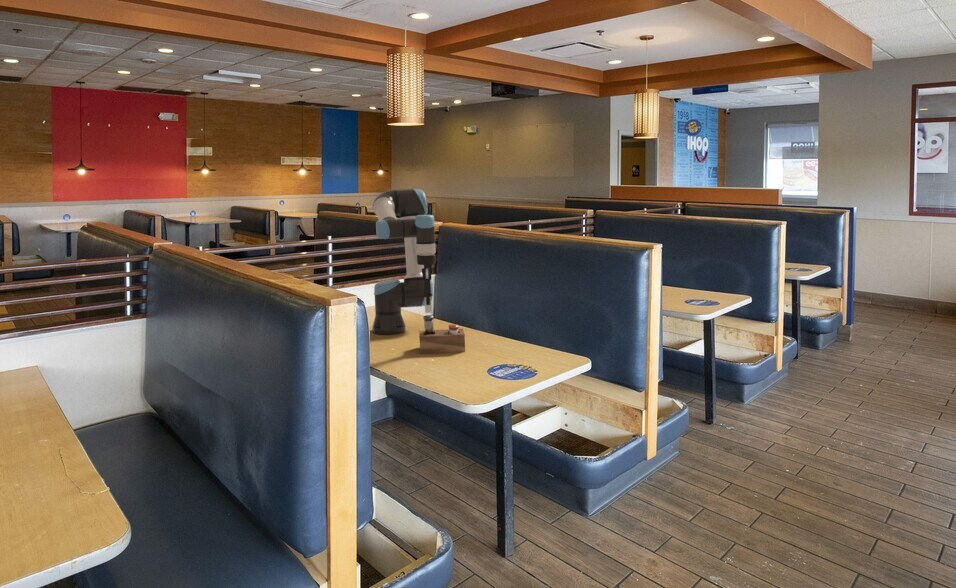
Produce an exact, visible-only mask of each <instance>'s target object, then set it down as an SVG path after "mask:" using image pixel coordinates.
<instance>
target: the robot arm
mask: <svg viewBox="0 0 956 588" xmlns="http://www.w3.org/2000/svg"><path fill="white" fill-rule="evenodd" d="M372 210H373V212H374V214H375V215H376V216H377V219H378V220H376V222H375V229H376V230H375V231H376V233H375V234H376V238H377V239H379V240H380V239H381V240H382V239H383V240H388V239H389V240H390V239H392V240H393V239H403V240H404V253H405V267H406V275H405V276H404V277H403V281H400V279H397V278H392V279H391V278H390V279H386V280H382V281H379V282H376V283H375V284H374V287H373V288H374V291H373V295H374V309H375V310H374V312H375V314H374V318H373V319H374V320H373V324H372V327H371V328H372V333H374V334H376V335H396V334H400V333H405V331H406V323H405V321H404V318H403V315H402V308H415V307H417V308H419V307H424V313H425V314H430V313H431V314H432V313H433V309H432V307H433V306H432V305H433V304H432V300H433V294H434V293H433V292H434V282H433V280H432V273H433V269H432V267H430V265H435V264H436V263H437V258H436V252H437V251H436V237H435V235H436V234H435V233H436V232H435V229H436V228H435V225H436V223H435V218H434V215H433V214H428V213H429V212H428V211H429V209H428V201H427V196H426V194H425V192H424V191H423V190H422V189H419V188H418V189H417V188H416V189H415V188H410V189H409V188H408V189H407V188H406V189H389V190H385V191H384V192H381V193H380V194H378V195H377V197H375V198H374V201H373V203H372ZM397 216H399V218H398V217H397Z"/></svg>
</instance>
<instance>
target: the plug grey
mask: <svg viewBox="0 0 956 588" xmlns="http://www.w3.org/2000/svg"><path fill="white" fill-rule="evenodd" d="M434 318H435V316H434V315H433V314H431V315H430V314H427V315H423V321H424V322H423V323H424V331H425V335H432V334H434V330H435V329H434Z"/></svg>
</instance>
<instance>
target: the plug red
mask: <svg viewBox="0 0 956 588" xmlns="http://www.w3.org/2000/svg"><path fill="white" fill-rule="evenodd" d="M448 329H449V332H450V334H454V333H458V329H460V325H459V324H456V323H454V324H449V325H448Z"/></svg>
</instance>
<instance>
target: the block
mask: <svg viewBox="0 0 956 588" xmlns="http://www.w3.org/2000/svg"><path fill="white" fill-rule="evenodd" d="M418 332H419V333H418V334H419V354H420V355H423V354H424V355H425V354H440V353H441V354H442V353H443V354H444V353H461V352H466V340H465V339H466V338H465V337H466V336H465V335H466V334H465V332H464V328H458V333H454V334H450V332H449V328H448V329H434V334H432V335H425V330H418Z"/></svg>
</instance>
